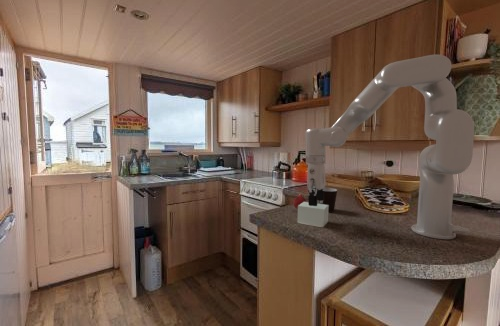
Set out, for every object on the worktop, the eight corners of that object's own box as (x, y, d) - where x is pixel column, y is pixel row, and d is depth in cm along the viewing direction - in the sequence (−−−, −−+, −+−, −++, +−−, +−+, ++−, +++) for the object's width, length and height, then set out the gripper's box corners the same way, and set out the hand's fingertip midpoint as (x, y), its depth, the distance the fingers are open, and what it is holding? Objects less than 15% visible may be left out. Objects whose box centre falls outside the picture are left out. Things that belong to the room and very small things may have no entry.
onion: (298, 213, 110) (299, 195, 109) (290, 209, 115) (291, 193, 114) (308, 211, 112) (309, 194, 112) (300, 208, 117) (300, 192, 117)
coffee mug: (339, 213, 110) (340, 191, 109) (320, 212, 110) (320, 191, 110) (331, 206, 122) (331, 186, 121) (313, 206, 122) (314, 186, 121)
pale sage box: (327, 221, 98) (328, 205, 97) (323, 227, 91) (323, 209, 91) (303, 217, 103) (303, 201, 103) (297, 222, 96) (297, 205, 96)
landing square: (326, 220, 99) (326, 220, 99) (321, 227, 91) (321, 226, 91) (305, 217, 103) (305, 216, 103) (298, 223, 96) (298, 222, 96)
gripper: (319, 161, 86) (320, 209, 87) (330, 158, 101) (330, 199, 102) (299, 161, 90) (300, 207, 91) (312, 158, 104) (313, 197, 106)
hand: (316, 202), depth 96 cm, fingers open, 9 cm apart
